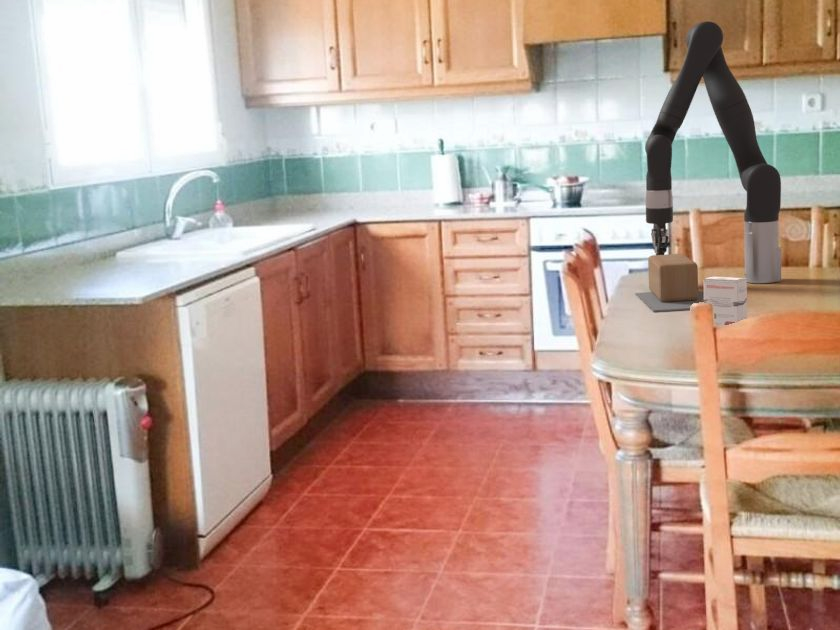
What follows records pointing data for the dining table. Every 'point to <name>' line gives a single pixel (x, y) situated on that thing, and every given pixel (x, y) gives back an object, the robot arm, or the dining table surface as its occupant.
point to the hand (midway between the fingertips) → (660, 266)
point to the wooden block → (673, 277)
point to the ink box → (726, 298)
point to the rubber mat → (667, 306)
